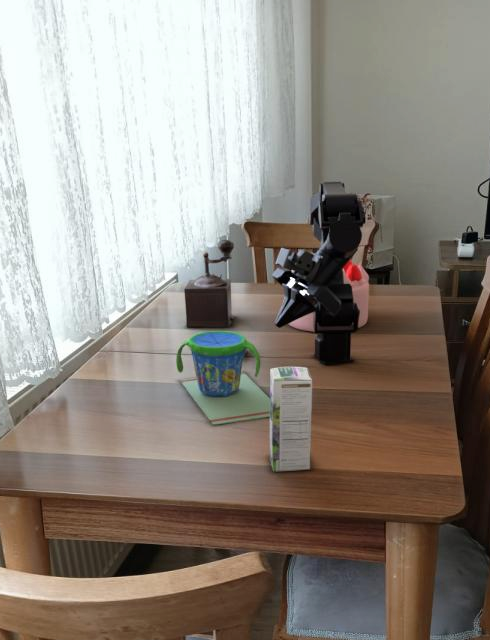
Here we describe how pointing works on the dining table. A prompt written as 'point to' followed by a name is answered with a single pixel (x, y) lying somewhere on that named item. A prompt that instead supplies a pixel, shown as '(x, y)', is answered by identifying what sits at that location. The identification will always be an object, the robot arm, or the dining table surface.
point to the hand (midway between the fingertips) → (276, 326)
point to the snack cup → (218, 360)
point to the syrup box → (290, 418)
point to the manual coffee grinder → (210, 295)
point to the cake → (360, 295)
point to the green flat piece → (231, 402)
